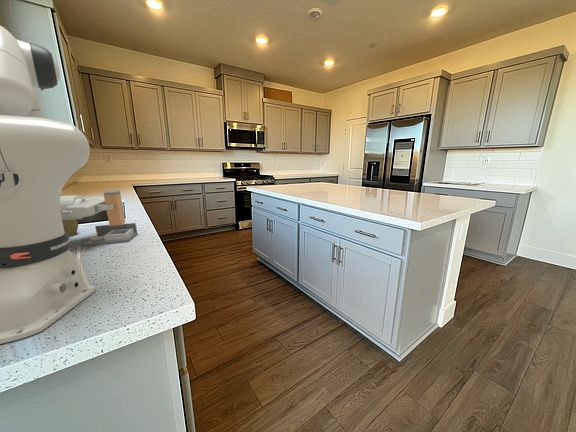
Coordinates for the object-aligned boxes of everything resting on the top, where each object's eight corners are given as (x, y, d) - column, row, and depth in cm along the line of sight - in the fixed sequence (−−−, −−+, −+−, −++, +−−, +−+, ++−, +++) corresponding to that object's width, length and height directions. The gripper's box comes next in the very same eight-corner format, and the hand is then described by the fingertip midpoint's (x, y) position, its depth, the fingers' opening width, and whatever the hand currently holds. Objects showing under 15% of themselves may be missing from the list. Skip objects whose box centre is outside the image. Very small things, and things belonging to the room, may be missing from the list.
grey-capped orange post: (122, 225, 92) (116, 191, 89) (107, 226, 90) (100, 192, 87) (127, 221, 97) (122, 189, 93) (112, 222, 95) (106, 190, 92)
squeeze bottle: (68, 238, 97) (57, 194, 93) (48, 238, 97) (37, 194, 93) (85, 232, 105) (76, 191, 100) (67, 232, 105) (57, 191, 101)
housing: (128, 242, 91) (126, 229, 90) (85, 246, 88) (82, 232, 86) (137, 234, 101) (135, 223, 99) (98, 237, 97) (96, 225, 96)
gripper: (53, 204, 78) (103, 201, 81) (86, 195, 97) (125, 193, 101) (58, 222, 79) (106, 219, 83) (89, 210, 98) (127, 208, 102)
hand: (117, 205), depth 92 cm, fingers closed on grey-capped orange post, 4 cm apart
